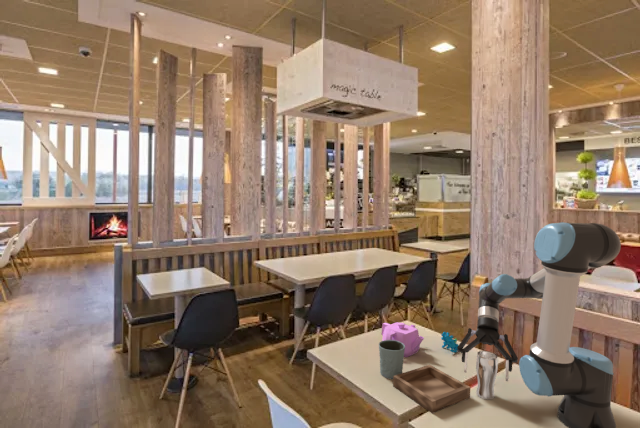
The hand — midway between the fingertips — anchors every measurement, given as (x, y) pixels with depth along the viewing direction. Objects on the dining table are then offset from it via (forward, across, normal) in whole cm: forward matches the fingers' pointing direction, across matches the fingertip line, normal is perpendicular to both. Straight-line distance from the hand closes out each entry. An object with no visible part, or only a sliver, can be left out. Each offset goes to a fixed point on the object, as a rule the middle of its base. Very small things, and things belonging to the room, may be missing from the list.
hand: (485, 375), depth 132 cm
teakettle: (-12, +35, -24) cm, 44 cm away
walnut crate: (+10, +18, -2) cm, 20 cm away
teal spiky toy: (-20, +15, -31) cm, 40 cm away
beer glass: (+5, 0, -6) cm, 8 cm away
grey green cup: (+5, +34, -6) cm, 35 cm away
